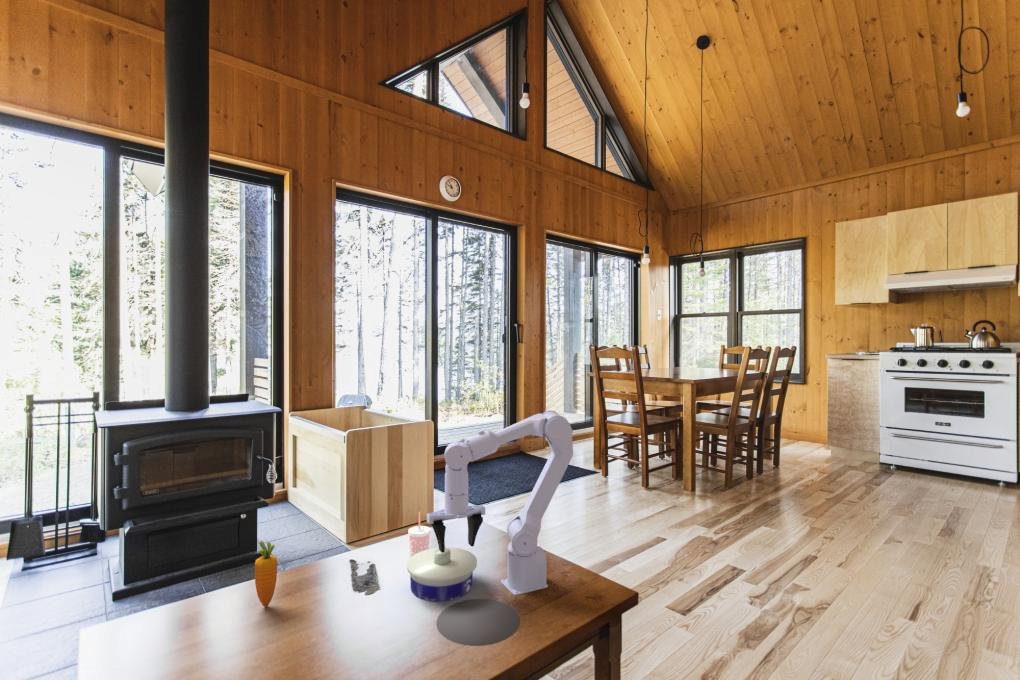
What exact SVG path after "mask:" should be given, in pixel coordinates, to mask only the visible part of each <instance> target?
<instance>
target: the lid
mask: <svg viewBox="0 0 1020 680" xmlns="http://www.w3.org/2000/svg"><path fill="white" fill-rule="evenodd" d="M477 559H478V558H477V556H476V555H475V554H474V553H472V552H471V551H468V550H466V549H463V548H459V547H453V546H452V547H447V546H445V551H444V552H441V551H440V550H439V547H434V548H433V547H431V548H429V549H428V550H424V551H421V552H419V553H417V554H415V555H413V556H412V557H411V558H409V559H408V560H407V563H406V569H407V573H409V575H410V574H411V575H412V576H414V577H416V578H418V579H422V580H426V581H450V580H455V579H459V578H462V577H464V576H467V575H468V574H470V573H471V572H473V573H474V571H475V570H476V569H477V566H478V560H477Z"/></svg>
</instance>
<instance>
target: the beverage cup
mask: <svg viewBox="0 0 1020 680" xmlns="http://www.w3.org/2000/svg"><path fill="white" fill-rule="evenodd" d="M407 531H408V532H407V534H408V539H409V555H410V556H409V557H410V558H411V557H412V556H413V555H415V554H417V553H419V552H421V551H424V550H428V549H430V548H429V547H430V534H431V532H432V531H431V527H429V526H426V525H421V511H418V525H415V526H411V527H410V528H408V530H407ZM410 558H409V559H410Z"/></svg>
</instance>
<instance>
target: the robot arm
mask: <svg viewBox="0 0 1020 680" xmlns="http://www.w3.org/2000/svg"><path fill="white" fill-rule="evenodd" d="M477 431H478V433H477V434H474V435H473V436H470V437H466V438H464V437H462V438H459V441H453V442H451V443H449V444H448V445H447V446H446V448H445V450H444V452H443V455H444V461H445V469H444V470H445V473H444V508H442V509H440V510H437V511H433V512H429V513H426V522H427V524H428V525H430V526H431V528H432V529H433V532H434V535H435V537H436V540H437V544H438V548H439V550H440V551H441V552H444V551H445V547H446V545H445V543H446V542H445V541H446V539H445V536H446V530H447V529H446V528H447V527H446V526H445V524H444V521H449V520H450V521H451V520H455V519H457V520H458V519H465V518H466V519H467V529H468V530H467V542H468V545H469V546H470V547H474V546H475V542H476V537H477V535H478V532H479V530H480V527H481V526H482V524H483V522H484V517H483V516H485V515H486V506H485V505H483V504H479V505H469V472H468V464H469V462H474V461H478V460H479V459H482V458H484V457H487V456H489V455H492V454H494V453H497V451H498V449H499V447H500V445H503V444H507V443H509V442H510V443H511V442H512V441H515V440H518V439H520V438H524V437H526V436H529V435H531V436H533V437H539V438H544V437H545V438H546V440H547V443H548V445H549V448H550V450H551V451H550V454H549V457H548V459H547V460H546V462H545V465H544V467H543V468H542V470H541V471H540V472H541V473H540V475H539V476H538V478H537V480H536V482H535V485H534V486H533V489H532V491H531V493H530V495H529V496H528V499H527V501H526V503H525V504H524V506H523V508H521V509H520V510H519V511H518V512H517V515H516V516H515V517H514V518H513V519H511V520H510V521H509V523H508V524H507V529H506V531H507V532H506V533H507V535H508V537H509V540H510V542H509V543H508V545H507V548H506V550H507V552H506V554H507V555H506V559H507V560H506V561H507V562H506V563H507V564H506V568H507V569H506V575H507V576H506V578H504V579H501V580H500V583H501V584H502V585H504V586H505V588H506V589H507V590H508V591H510V593H511V594H513V596H517V595H522V594H525V593H526V594H527V593H531V592H534V591H539V590H542V589H546V588H548V587H549V585H548V584H547V574H548V573H547V565H548V564H547V557H546V553H545V550H544V549H543V548H542V547H541V546H538V537H539V534H540V532H541V529H542V527H541V526H542V519H543V517H544V515H545V513H546V511H547V509H548V507H549V505H550V502H551V501H552V499H553V497H554V495H555V493H556V491H557V489H558V486H559V485H560V483H561V480H562V478H563V477H564V475H565V473H566V470H567V468H568V466H569V464H570V462H571V460H572V458H573V456H574V446H573V445H574V444H573V433H574V431H573V428H572V426H571V425H570V422H569V421H568V419H567V418H566V417H565V416H562V415H560V414H559V413H558V412H556V411H555V410H546V411H544V412H543V413H536V414H534V415H531V416H529V417H526V418H524V419H522V420H520V421H518V422H516V423H513V424H511V425H509V426H507V427H504V428H502V429H500V430H497V431H496V432H493V431H491V430H489V429H488V430H485V431H484V429H479V430H477Z"/></svg>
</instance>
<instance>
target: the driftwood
mask: <svg viewBox="0 0 1020 680" xmlns="http://www.w3.org/2000/svg"><path fill="white" fill-rule="evenodd" d="M348 561H349V563H350V570H351V571H350V573H351V574H350V576H351V577H350V578H351V587H352V590H353V591H354V592H358V593H359V594H361V593H364V596H368V595H370V594H376V592H378V591H380V590H381V589H380V587H379V583H378V580H377V579H378V577H377V575H376V566H375V564H374V563H372V564H370V563H371V560H370V561H369V560H368V561H367V562H366V563H367V564H369V566H368V569H366V573H364V574H361V575H360V574H359V575H358V572H357V571H358V570H359V569H360V567H359V565H361V563H360V562H358V561H357V560H355V559H349V560H348ZM363 565H365V563H363Z"/></svg>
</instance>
